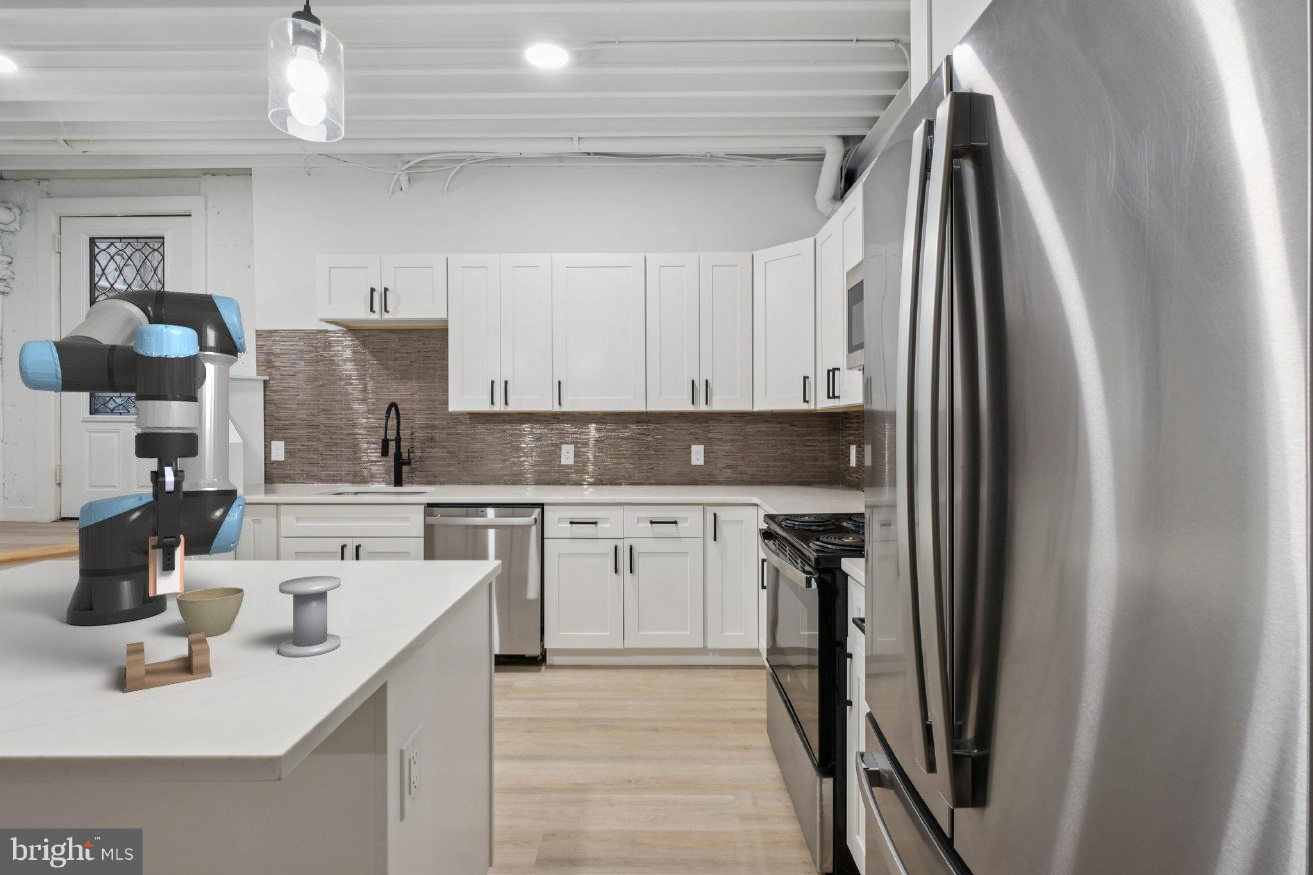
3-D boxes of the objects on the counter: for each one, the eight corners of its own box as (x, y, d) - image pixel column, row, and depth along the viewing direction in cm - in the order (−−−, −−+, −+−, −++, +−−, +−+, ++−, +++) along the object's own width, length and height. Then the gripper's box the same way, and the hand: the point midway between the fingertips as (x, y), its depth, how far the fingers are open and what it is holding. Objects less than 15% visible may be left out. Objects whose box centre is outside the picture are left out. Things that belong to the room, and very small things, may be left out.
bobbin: (274, 646, 110) (274, 580, 110) (333, 636, 115) (333, 573, 115) (284, 661, 103) (284, 590, 103) (346, 649, 108) (346, 582, 108)
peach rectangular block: (182, 587, 100) (182, 534, 100) (183, 592, 97) (183, 537, 97) (148, 591, 97) (149, 537, 97) (149, 596, 94) (149, 540, 94)
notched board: (124, 672, 98) (124, 644, 98) (205, 657, 104) (205, 631, 104) (124, 692, 90) (123, 662, 90) (211, 676, 96) (211, 648, 96)
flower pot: (210, 643, 111) (210, 601, 111) (161, 639, 113) (161, 598, 113) (257, 626, 121) (257, 587, 121) (211, 623, 123) (211, 585, 123)
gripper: (134, 431, 101) (134, 583, 101) (135, 430, 88) (135, 605, 88) (193, 431, 106) (194, 576, 106) (203, 430, 93) (203, 596, 93)
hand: (167, 589), depth 97 cm, fingers closed on peach rectangular block, 4 cm apart
